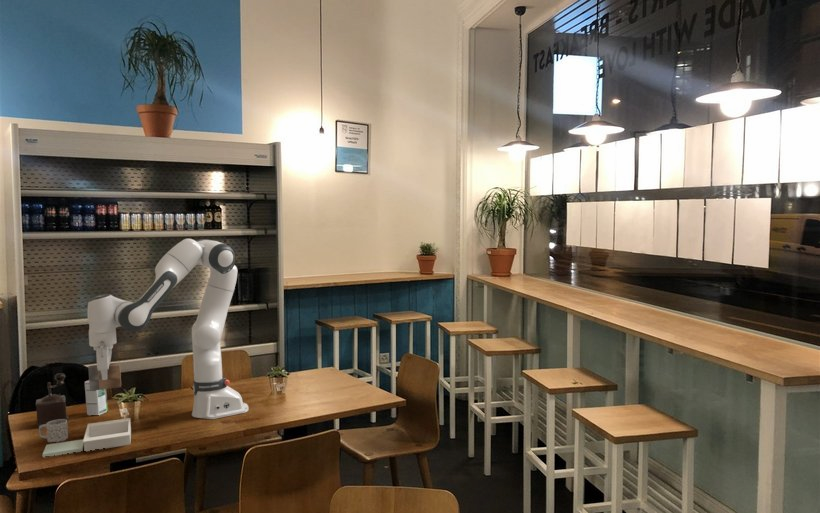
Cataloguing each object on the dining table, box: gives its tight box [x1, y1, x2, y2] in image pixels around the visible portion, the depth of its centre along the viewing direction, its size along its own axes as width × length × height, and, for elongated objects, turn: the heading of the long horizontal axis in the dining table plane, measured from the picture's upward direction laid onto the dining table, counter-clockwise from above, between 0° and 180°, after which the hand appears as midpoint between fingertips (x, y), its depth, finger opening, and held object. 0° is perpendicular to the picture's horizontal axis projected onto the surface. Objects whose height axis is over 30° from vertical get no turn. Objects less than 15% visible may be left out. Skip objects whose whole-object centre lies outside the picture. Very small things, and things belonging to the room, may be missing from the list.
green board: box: [42, 438, 84, 458], centre depth 217 cm, size 12×10×1 cm
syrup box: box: [84, 380, 109, 416], centre depth 258 cm, size 6×6×14 cm
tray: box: [83, 417, 132, 452], centre depth 224 cm, size 15×21×4 cm
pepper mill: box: [35, 372, 70, 429], centre depth 250 cm, size 16×11×18 cm
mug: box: [38, 419, 69, 443], centre depth 228 cm, size 10×7×7 cm, turn 92°
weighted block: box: [88, 362, 122, 391], centre depth 223 cm, size 10×5×8 cm, turn 114°
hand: (105, 377), depth 223 cm, fingers closed on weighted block, 5 cm apart
